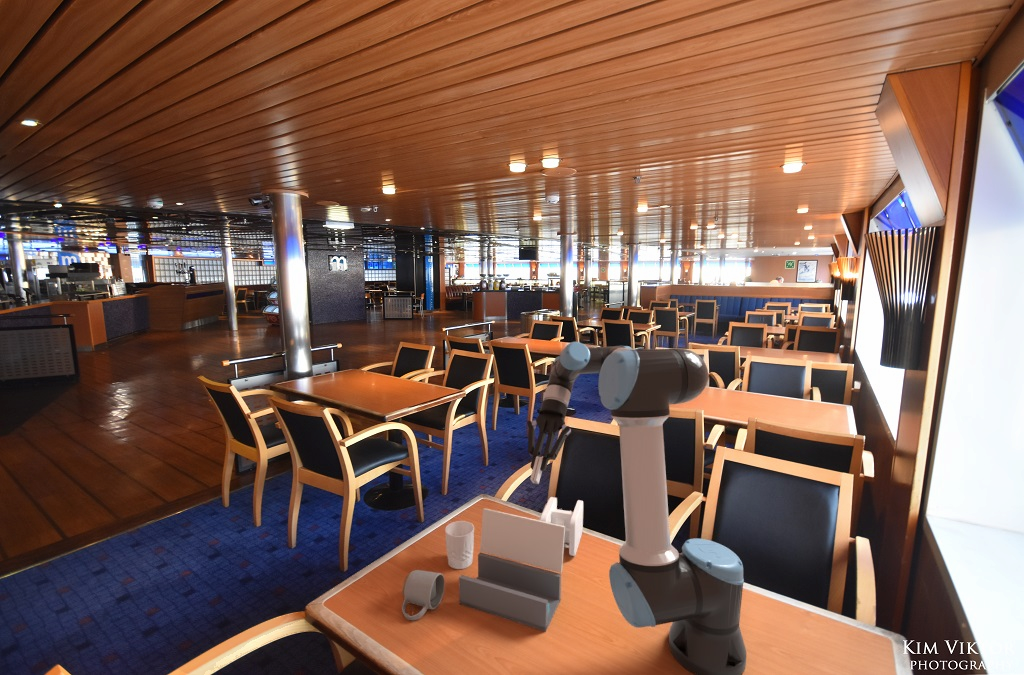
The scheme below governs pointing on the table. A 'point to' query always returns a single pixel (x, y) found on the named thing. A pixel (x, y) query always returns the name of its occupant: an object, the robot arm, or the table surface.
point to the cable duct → (512, 591)
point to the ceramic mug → (422, 591)
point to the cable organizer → (566, 522)
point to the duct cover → (523, 539)
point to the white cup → (459, 544)
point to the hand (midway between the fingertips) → (534, 481)
